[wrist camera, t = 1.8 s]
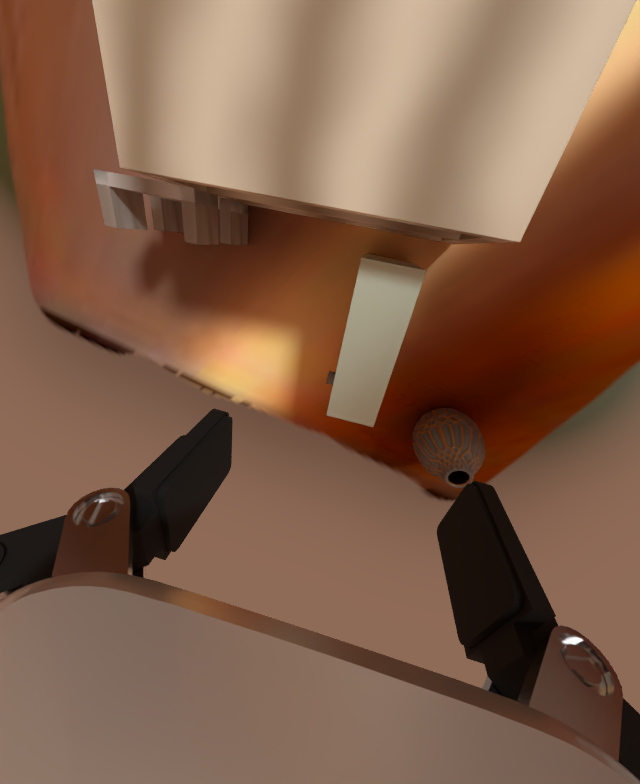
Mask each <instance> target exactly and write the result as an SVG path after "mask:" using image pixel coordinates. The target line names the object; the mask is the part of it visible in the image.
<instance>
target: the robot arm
mask: <svg viewBox="0 0 640 784" xmlns="http://www.w3.org/2000/svg"><path fill="white" fill-rule="evenodd" d="M231 452H232V418H231V417H229V414H228V413H227V412H224V411H220V410H217V409H212V410H211V411H210V412H209V413H208V414H207V415H206V416H205V417H204V418H203V419H202V420H201V421H200V422H199V423H198V424H197V425H196V426H195V427H194V428H193V429H192V430H191V431H190V432H189V433H188V434H187V435H183V436H181V437H180V438H178V439H177V440H176V441H175V442H174V443H173V444H172V445H171V446H169V447H168V448H167V449H166V450H165V451H164V452H163V453H162V454H161V455H160V456H159V457H158V458H157V459H156V460H155V461H154V462H153V463H152V464H151V465H150V466H149V467H147V469H145V470H144V471H143V472H142V473H141V474H140V475H139V476H138V477H137V478H136V479H135V480H134V481H133V482H132V483H131V484H130V485H129V486H128V487H127V488H126V489H124V490H122V489H119V488H104V489H100V490H97V491H94V492H91V493H89V494H87V495H85V496H84V497H82V498H81V499H79V500H78V501H77V502H75V503H74V504H73V506H72V507H71V508H70V509H69V511H68V513H67V515H64V516H61V517H58V518H55V519H51V520H48V521H45V522H41V523H38V524H35V525H31V526H28V527H25V528H22V529H19V530H15V531H12V532H9V533H6V534H2V535H0V784H640V714H639V713H638V712H637V711H636V710H635V709H634V708H633V707H632V706H631V705H629V703H628V702H626V701H625V699H623V692H622V686H621V684H620V681H619V679H618V676H617V674H616V672H615V671H614V669H613V667H612V666H611V665H610V663H609V661H608V660H607V659H606V657H605V656H604V655H603V654H602V653H601V651H600V650H599V649H598V648H597V647H596V646H595V645H594V644H593V643H592V642H591V641H590V640H589V639H587V638H586V637H585V636H583V635H582V634H581V633H579V632H578V631H576V630H574V629H572V628H570V627H566V626H558V624H557V622H556V620H555V618H554V617H555V616H556V615H555V614H554V611H553V609H552V607H551V605H550V603H549V601H548V599H547V597H546V595H545V593H544V590H543V588H542V586H541V584H540V582H539V580H538V578H537V576H536V574H535V572H534V570H533V568H532V566H531V564H530V561H529V559H528V558H527V555H526V553H525V551H524V549H523V547H522V545H521V543H520V541H519V539H518V537H517V535H516V533H515V531H514V528H513V526H512V524H511V522H510V520H509V518H508V516H507V514H506V512H505V510H504V508H503V506H502V503H501V501H500V500H499V497H498V495H497V493H496V491H495V489H494V488H493V486H491V485H488V484H484V483H481V482H477V481H474V482H472V483H471V484H470V483H468V484H467V485H466V486H465V487H464V489H463V490H462V492H461V493H460V495H459V496H458V498H457V499H456V500H455V502H454V503H453V505H452V506H451V508H450V509H449V511H448V512H447V514H446V515H445V516H444V518H443V519H442V521H441V522H440V524H439V526H438V529H437V536H438V541H439V546H440V551H441V556H442V560H443V565H444V570H445V575H446V580H447V585H448V590H449V595H450V599H451V605H452V609H453V614H454V619H455V624H456V628H457V634H458V637H459V641H460V643H461V644H462V645H464V647H465V652H466V656H467V658H468V659H471V660H474V661H477V662H480V663H483V664H485V667H486V671H487V675H488V676H487V678H486V680H485V683H484V685H483V687H482V689H481V688H479V687H476V686H473V685H470V684H467V683H465V682H462V681H459V680H456V679H453V678H450V677H447V676H444V675H441V674H438V673H435V672H433V671H430V670H427V669H424V668H421V667H418V666H415V665H412V664H409V663H406V662H403V661H400V660H397V659H394V658H391V657H388V656H385V655H382V654H379V653H376V652H373V651H370V650H367V649H364V648H361V647H358V646H355V645H352V644H349V643H346V642H343V641H340V640H337V639H334V638H331V637H328V636H325V635H322V634H319V633H316V632H313V631H310V630H307V629H304V628H301V627H298V626H295V625H292V624H289V623H286V622H283V621H280V620H277V619H274V618H271V617H268V616H265V615H261V614H258V613H255V612H252V611H249V610H246V609H243V608H240V607H237V606H234V605H230V604H228V603H225V602H222V601H218V600H215V599H212V598H209V597H206V596H203V595H200V594H196V593H193V592H190V591H186V590H183V589H180V588H177V587H174V586H170V585H167V584H163V583H160V582H157V581H154V580H149V579H146V566H147V565H149V563H150V562H151V561H152V559H153V558H154V557H157V558H160V559H163V560H166V558H167V557H168V555H169V554H170V552H171V551H172V552H175V551H176V550H177V549H178V548H179V547H180V545H181V544H182V542H183V541H184V539H185V538H186V536H187V535H188V533H189V532H190V530H191V529H192V527H193V526H194V524H195V523H196V521H197V519H198V518H199V517H200V515H201V513H202V512H203V511H204V509H205V508H206V506H207V505H208V503H209V502H210V500H211V498H212V497H213V495H214V494H215V492H216V491H217V489H218V488H219V486H220V485H221V483H222V482H223V480H224V479H225V477H226V476H227V474H228V473H229V471H230V468H231Z"/></svg>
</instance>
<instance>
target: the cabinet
mask: <svg viewBox="0 0 640 784" xmlns="http://www.w3.org/2000/svg"><path fill="white" fill-rule="evenodd" d="M92 1H93V7H94V13H95V19H96V25H97V32H98V38H99V44H100V50H101V56H102V62H103V68H104V74H105V80H106V86H107V92H108V98H109V104H110V110H111V116H112V122H113V128H114V134H115V140H116V146H117V152H118V158H119V164H120V168H123V169H127V170H130V171H133V172H137V173H140V174H143V175H146V176H150V177H153V178H156V179H160V180H163V181H166V182H169V183H165V182H159V181H154V180H149V179H144V178H138V177H133V176H128V175H122V174H117V173H112V172H106V171H101V170H96V169H93V170H94V175H95V179H96V184H97V189H98V194H99V199H100V204H101V208H102V213H103V218H104V223H105V226H110V227H115V228H125V229H140V230H147V222H146V215H145V208H144V201H143V194H148V195H150V201H151V209H152V217H153V225H154V229H156V230H161V231H168V232H182V233H184V241H185V242H187V243H192V244H197V245H219V221H218V210H220V243H224V244H229V245H248V216H249V205H250V206H255V207H261V208H266V209H271V210H276V211H282V212H287V213H292V214H297V215H302V216H308V217H313V218H318V219H323V220H329V221H334V222H339V223H344V224H350V225H355V226H360V227H365V228H370V229H376V230H381V231H386V232H391V233H397V234H402V235H407V236H412V237H418V238H423V239H428V240H433V241H438V242H444V243H449V244H473V243H506V242H520V241H521V239H522V237H523V235H524V233H525V231H526V229H527V226H528V224H529V222H530V220H531V218H532V216H533V214H534V212H535V210H536V208H537V206H538V204H539V202H540V200H541V197H542V195H543V193H544V191H545V189H546V187H547V185H548V183H549V181H550V179H551V177H552V175H553V173H554V170H555V168H556V166H557V164H558V162H559V160H560V158H561V156H562V154H563V152H564V150H565V148H566V146H567V143H568V141H569V139H570V137H571V135H572V133H573V131H574V129H575V127H576V125H577V123H578V121H579V119H580V116H581V114H582V112H583V110H584V108H585V106H586V104H587V102H588V100H589V98H590V96H591V94H592V92H593V89H594V87H595V85H596V83H597V81H598V79H599V77H600V75H601V73H602V71H603V69H604V67H605V65H606V62H607V60H608V58H609V56H610V54H611V52H612V50H613V48H614V46H615V44H616V42H617V40H618V38H619V35H620V33H621V31H622V29H623V27H624V25H625V23H626V21H627V19H628V17H629V15H630V13H631V11H632V8H633V6H634V4H635V2H636V0H92ZM170 183H173V184H170ZM175 184H176V185H175Z"/></svg>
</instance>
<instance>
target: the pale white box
mask: <svg viewBox="0 0 640 784" xmlns="http://www.w3.org/2000/svg"><path fill="white" fill-rule="evenodd" d="M425 274H426V270H424V269H422V268H420V267H418V266H416V265H414V264H412V263H411V262H406V261H401V260H396V259H391V258H386V257H381V256H376V255H371V254H366V255H365V256H363V257H362V258H361V261H360V266H359V270H358V275H357V279H356V284H355V288H354V293H353V297H352V302H351V306H350V311H349V315H348V320H347V324H346V329H345V333H344V338H343V342H342V347H341V351H340V356H339V360H338V365H337V369H336V372H332V371H329V374H328V378H327V384H331V385H333V387H332V392H331V396H330V401H329V405H328V410H327V414H326V415H327V416H331V417H335V418H339V419H343V420H347V421H351V422H355V423H358V424H362V425H366V426H370V427H373V426H374V424H375V421H376V418H377V415H378V412H379V409H380V406H381V403H382V400H383V397H384V394H385V391H386V388H387V385H388V383H389V380H390V377H391V374H392V371H393V368H394V365H395V362H396V359H397V356H398V353H399V350H400V347H401V345H402V342H403V339H404V336H405V333H406V330H407V327H408V324H409V321H410V318H411V315H412V312H413V309H414V306H415V304H416V301H417V298H418V295H419V292H420V289H421V286H422V283H423V280H424V277H425Z"/></svg>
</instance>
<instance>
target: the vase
mask: <svg viewBox="0 0 640 784" xmlns="http://www.w3.org/2000/svg"><path fill="white" fill-rule="evenodd" d="M412 439H413V448H414V452H415V454H416V456H417V458H418V460H419V462H420V463H421V464H422V466H423V467H424V468H425V469H426V470H427V471H428V472H429V473H431V474H432V475H434V476H436V477H438V478H440V479H442V480H444V481H445V482H446V483H447V484H448V485H450V486H452V487H456V488H461V487H465V486H466V485H467V484H468V483H471V482H472V481H473V477H474V474H475V473H476V472H477V471H478V469H479V468H480V466H481V465H482V463H483V460H484V456H485V444H484V439H483V436H482V434H481V432H480V430H479V428H478V427H477V425H476V424H475V423H474V421H473V420H472V419H471V418H469V417H468V416H467V415H465V414H464V413H462V412H460V411H458V410H455V409H451V408H437V409H433V410H431V411H429V412H427V413H425V414H424V415H422V416H421V417H420V419H419V420H418V421H417V423H416V425H415V427H414V430H413V437H412Z"/></svg>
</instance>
